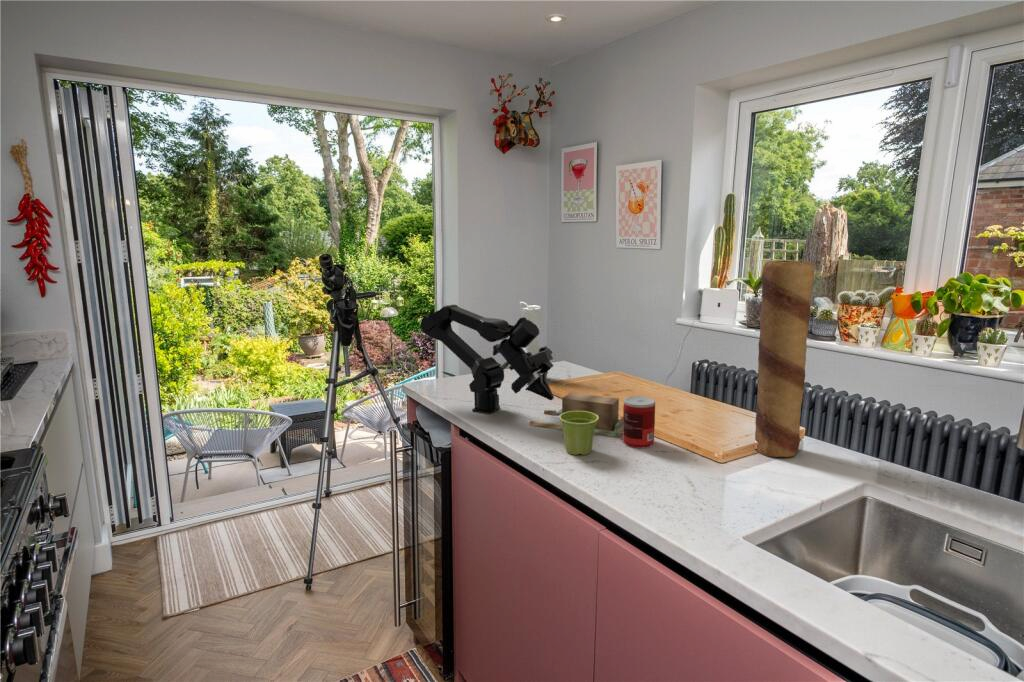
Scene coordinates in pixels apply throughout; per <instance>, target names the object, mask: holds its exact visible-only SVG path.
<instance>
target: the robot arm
mask: <svg viewBox="0 0 1024 682" xmlns="http://www.w3.org/2000/svg"><path fill="white" fill-rule="evenodd" d="M453 322H455V323H457V324H460V325H462V326H464V327H466V328H468V329H471V330H474V331H476V332H477V333H478V334H479V336H480V337H481V338H483V339H484V340H486V341H487V342H489V343H495V342H499V341H500V342H499V343H496V344H494V345H493V346H492V356H496V355H498V354H500V355H501V356H502V357H503V358H504V359H505V361H506V362H507V363H508V364H509V367H508V368H509V370H510V371H513V370H514V371H515V372H516V374H517V375H518V377H517V378H516V379H515V380H514V381H513V382H512V383H511V386H510V388H511V390H512V391H513V392H514V394H518V393H520V392H521V390H522V389H523V388H524V387H525V386H527V387H526V388H525V389H524V390H525V391H529V392H531V393H533V394H537V395H539V396H541V397H542V398H545V399H547V400H549V401H552V400H554V399H555V397H554V393H553V392H552V389H551V387H550V385H549V383H548V380H547V379H548V374H549V371H550V370H551V369H552V368H553V367H554V364H553V363H552V362H551V360H554V358H553V355H552V354H553V350H551V348H548V347H547V346H546V345H545V346H542V347H540V349H539V353H537V354H534V355H532V354H531V353H530V352H527V353H526V352H525V351H524V350H523V349H522V348H525V347H527V346H528V345H529V344H530V343H531V342H532V341H533V340H534V339H535V338H536V337H537V336H538V335H540V330H539V329H538V327H537V326H536V325H535V324H534V323H532V322H531V321H529V320H527V319H526V318H525V317H523V318H521V317H520V318H519V319H517V322H516V323H515V324H514V325H512V324H509V322H508V321H507V320H505V319H501V318H496V317H495V318H493V317H484V316H482V315H479V314H477V313H475V312H473V311H469V310H467V309H466V308H462V307H460V306H458V305H457V304H448V305H444V306H442V307H441V308H440V309H439V310H437V311H435V312H432V313H431V314H429V315H426V316H424V317H422V319H421V320H420V329H421V331H422V333H424V334H425V335H426V336H428V337H429V338H431V339H434V340H437V341H440V342H441V343H442V344H443V345H444V346H445V347H446V348H448V349H449V350H450V351H451V352H452V353H453V354H454V355H455V356H456V357H457V358H458V359H459V360H460V361H462V362H463V364H465V365H466V366H467V367H468V368H469V369H470V371H471V374H472V375H471V376H472V378H473V380H472V381H471V382H470V383H469V384H468V386H469V390H470V392H471V393H474V396H473V397H474V407H473V408H472V409H471V411H472V412H477V413H478V412H479V413H485V414H491V413H494V412H496V411H498V409H501V406H500V395H499V393H498V389H500V388H501V387H502V384H503V381H504V380H505V370H504V368H503V367H502V364H501V363H499V362H498V361H497V360H496V359H495V358H494V357H492V356H490V357H486V358H484V357H482V356H481V355H480V354H479V353H478V352H477V351H475V349H474V348H472V347H471V346H470V345H469V344H468V343H467V342H466V341H465V340H464V339H462V337H460V336H459V334H457V332H455V331H454V330H453V328H452V323H453Z"/></svg>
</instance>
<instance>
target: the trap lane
mask: <svg viewBox="0 0 1024 682" xmlns="http://www.w3.org/2000/svg"><path fill="white" fill-rule="evenodd" d="M543 413H544V414H546V415H552V416H553V415H554V416H555V415H561V414H562V408H561V409H560V410H558V411H557V410H556V409H555V410H553V409H546V408H545V409H544V410H543ZM620 418H621V419H620V420H619V419H618V423H617V424H616V425H615V430H614V431H608V430H600V429H595V430H594V435H602V436H608V437H615V438H619V437H620V436H621V435H622V434H623V416H621V417H620ZM529 426H534V427H541V428H542V427H543V428H549V429H557V430H563V425H562V423H554V422H553V423H552V422H546V421H545V422H544V421H537V420H530V421H529ZM562 437H564V433H563V434H562Z"/></svg>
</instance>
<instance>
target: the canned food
mask: <svg viewBox="0 0 1024 682" xmlns="http://www.w3.org/2000/svg"><path fill="white" fill-rule="evenodd" d="M622 417H623V432H622V441H623V443H624V445H627V446H628V447H631V448H637V449H646V448H650V447H651V446H653V444H654V443H655V420H656V401H655V399H654V398H653V397H652V398H651V397H648V396H641V395H638V396H637V395H636V396H635V395H633V396H628V397H625V398H624V400H623V413H622Z"/></svg>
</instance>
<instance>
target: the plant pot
mask: <svg viewBox="0 0 1024 682" xmlns="http://www.w3.org/2000/svg"><path fill="white" fill-rule="evenodd" d="M559 420H560V421H561V423H560V424H562V425H563V429H562V430H563V431H562V432H563V434H564V436H563V437H564V446H565V451H566V453H568V454H570V455H574V456H577V455H582V456H584V455H588V454H590V453H591V452H592V448H593V441H594V435H595V434H594V430H595V426H596V423H597V421H598V420H599V417H598V415H596V414H594V413H592V412H587V411H569V412H565V413H562V414H559Z"/></svg>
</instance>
